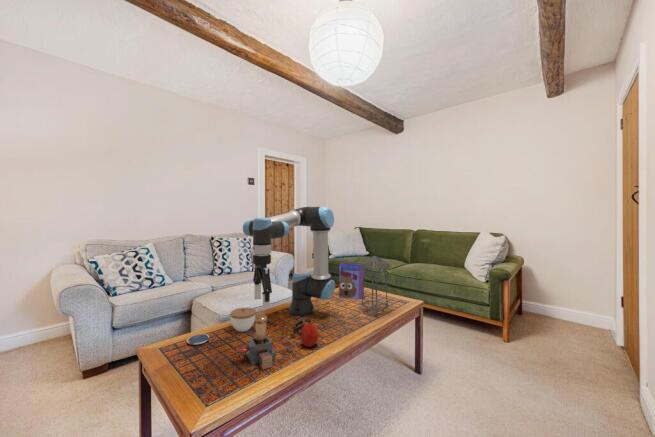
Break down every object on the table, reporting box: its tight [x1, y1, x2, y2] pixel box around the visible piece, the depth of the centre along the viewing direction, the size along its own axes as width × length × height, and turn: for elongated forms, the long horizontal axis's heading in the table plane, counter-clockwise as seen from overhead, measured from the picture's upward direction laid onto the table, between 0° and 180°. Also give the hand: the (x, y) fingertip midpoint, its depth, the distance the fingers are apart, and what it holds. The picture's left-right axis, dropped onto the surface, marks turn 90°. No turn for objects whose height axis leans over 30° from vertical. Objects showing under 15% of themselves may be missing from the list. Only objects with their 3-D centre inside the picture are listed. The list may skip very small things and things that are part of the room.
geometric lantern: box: [358, 255, 392, 316], centre depth 172 cm, size 16×16×35 cm
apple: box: [300, 322, 320, 348], centre depth 130 cm, size 8×8×11 cm
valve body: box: [236, 334, 277, 371], centre depth 118 cm, size 20×15×7 cm
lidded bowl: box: [229, 307, 257, 333], centre depth 145 cm, size 13×13×11 cm
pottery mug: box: [291, 318, 312, 335], centre depth 141 cm, size 12×10×8 cm
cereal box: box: [338, 263, 365, 300], centre depth 200 cm, size 17×5×24 cm, turn 81°
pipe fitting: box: [254, 314, 268, 345], centre depth 119 cm, size 5×5×14 cm
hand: (261, 303), depth 118 cm, fingers open, 13 cm apart
